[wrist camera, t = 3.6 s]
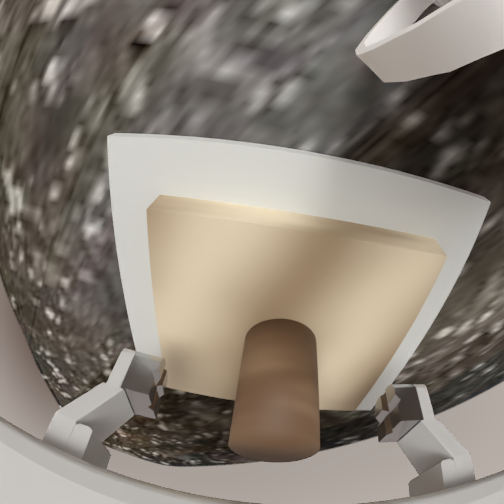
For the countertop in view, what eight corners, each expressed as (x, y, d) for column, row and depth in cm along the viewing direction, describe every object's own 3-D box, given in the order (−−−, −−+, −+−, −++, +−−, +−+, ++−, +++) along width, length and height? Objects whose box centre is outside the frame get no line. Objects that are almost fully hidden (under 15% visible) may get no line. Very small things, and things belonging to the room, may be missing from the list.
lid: (435, 238, 10) (506, 356, 5) (352, 392, 15) (360, 485, 11) (159, 194, 10) (68, 304, 5) (172, 369, 16) (143, 462, 11)
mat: (484, 196, 9) (491, 202, 9) (369, 403, 17) (370, 410, 16) (114, 133, 10) (107, 136, 9) (146, 374, 17) (144, 381, 17)
